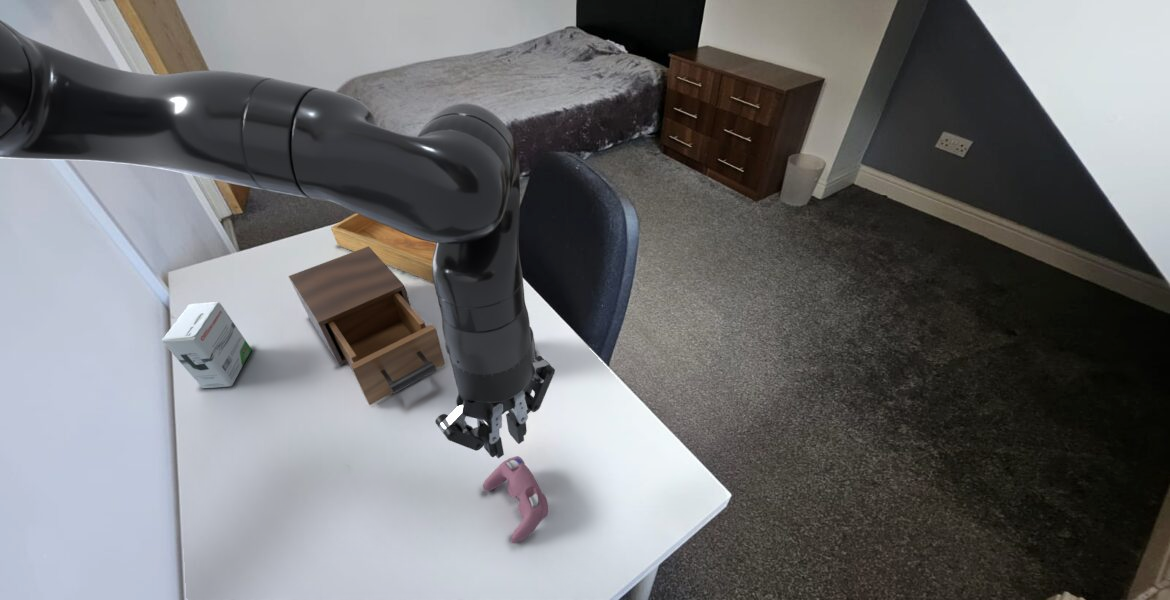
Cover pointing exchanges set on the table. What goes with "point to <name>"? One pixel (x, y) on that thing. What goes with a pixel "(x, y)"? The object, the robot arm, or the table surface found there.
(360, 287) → the cabinet
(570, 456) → the table surface
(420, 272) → the tray
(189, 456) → the table surface
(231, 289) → the table surface
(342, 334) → the drawer
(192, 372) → the ink box
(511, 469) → the video game controller
